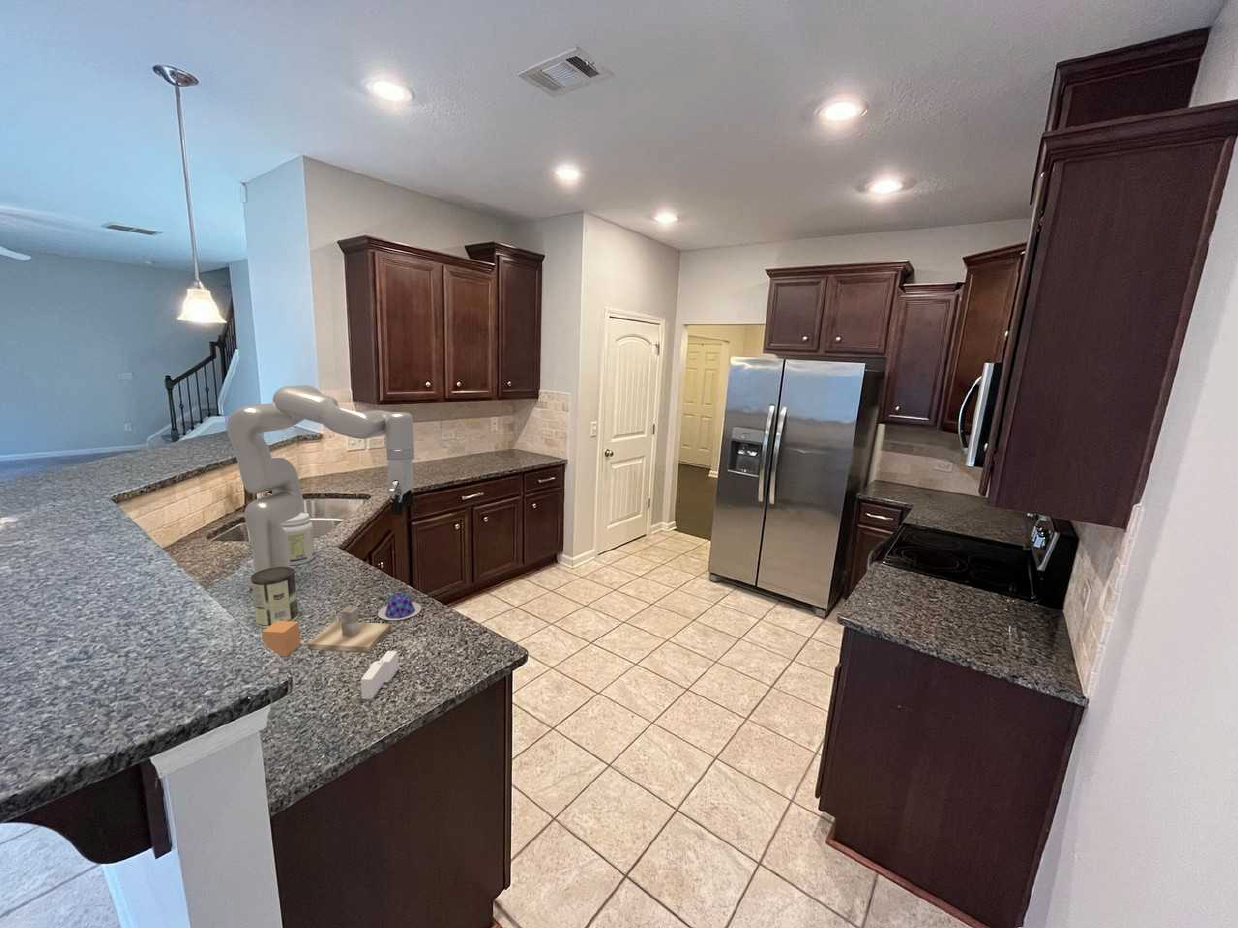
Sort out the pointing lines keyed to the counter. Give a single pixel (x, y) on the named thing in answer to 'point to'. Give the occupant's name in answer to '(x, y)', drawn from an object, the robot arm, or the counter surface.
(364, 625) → the post stand
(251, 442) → the robot arm
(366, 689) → the white stepped block
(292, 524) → the supplement tub
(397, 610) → the pudding
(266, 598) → the coffee can
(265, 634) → the orange block
